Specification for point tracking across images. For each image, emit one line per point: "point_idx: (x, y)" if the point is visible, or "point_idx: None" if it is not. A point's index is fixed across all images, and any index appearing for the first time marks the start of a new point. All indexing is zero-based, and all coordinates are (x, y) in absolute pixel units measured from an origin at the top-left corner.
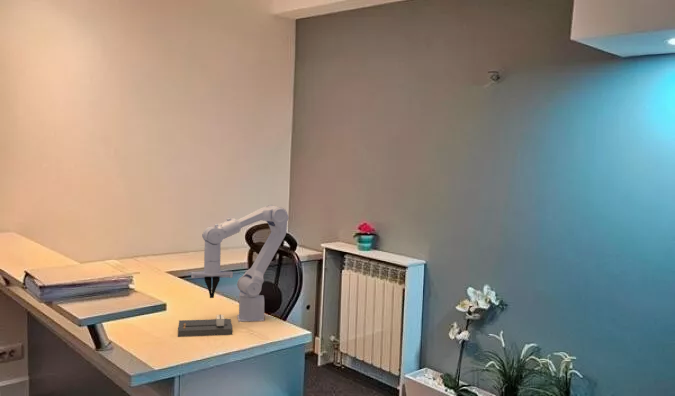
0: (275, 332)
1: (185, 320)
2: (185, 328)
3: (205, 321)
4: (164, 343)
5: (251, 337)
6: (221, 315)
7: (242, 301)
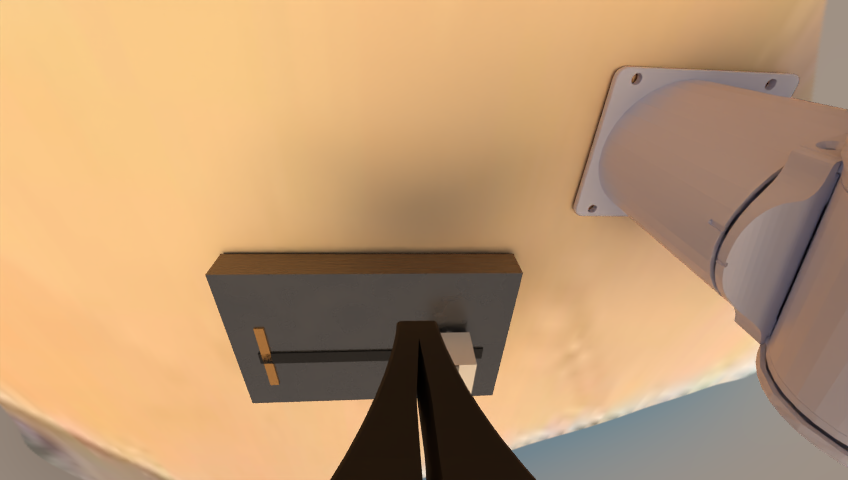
0: (662, 355)
1: (247, 278)
2: (280, 382)
3: (372, 302)
4: (228, 420)
5: (549, 391)
6: (462, 374)
7: (686, 264)
